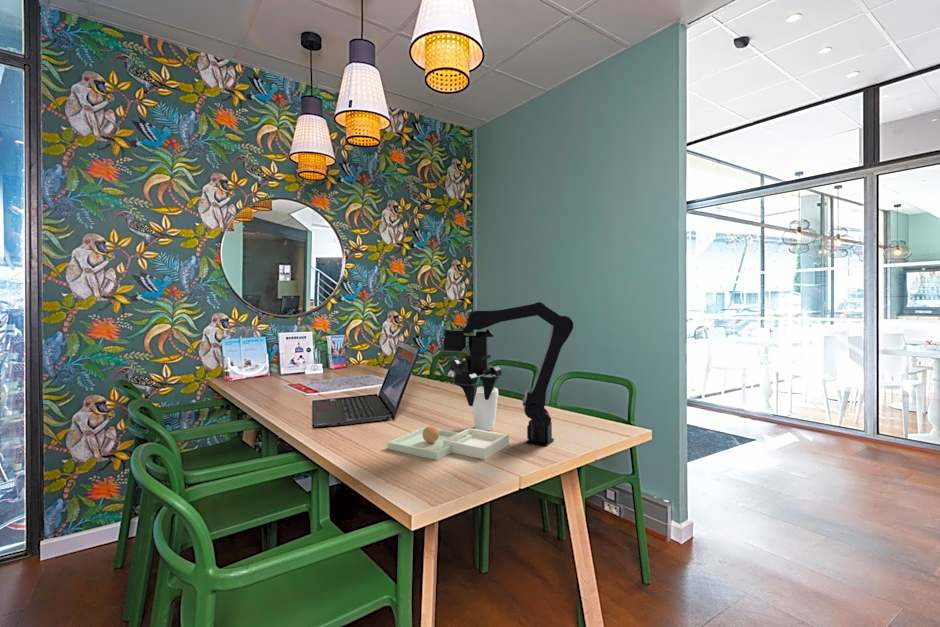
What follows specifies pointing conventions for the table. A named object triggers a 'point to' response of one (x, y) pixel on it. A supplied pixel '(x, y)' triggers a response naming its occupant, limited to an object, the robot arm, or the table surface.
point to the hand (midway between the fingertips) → (479, 402)
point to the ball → (430, 434)
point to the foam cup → (485, 409)
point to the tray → (425, 444)
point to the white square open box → (477, 443)
